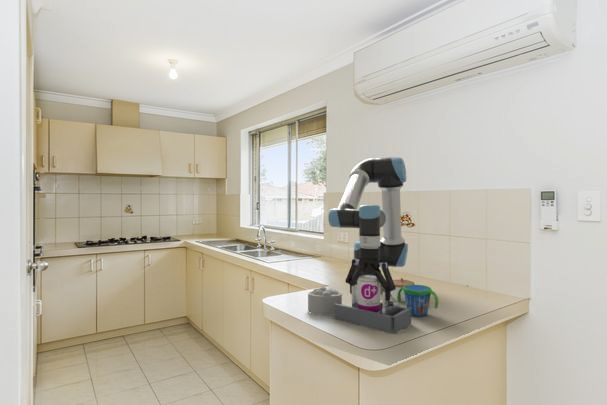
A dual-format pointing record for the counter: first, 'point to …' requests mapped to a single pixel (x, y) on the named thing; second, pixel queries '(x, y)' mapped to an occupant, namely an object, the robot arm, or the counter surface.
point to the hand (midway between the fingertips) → (369, 306)
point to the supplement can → (368, 293)
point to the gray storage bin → (374, 318)
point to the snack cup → (418, 298)
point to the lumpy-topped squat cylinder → (323, 300)
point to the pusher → (391, 308)
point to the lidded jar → (399, 285)
